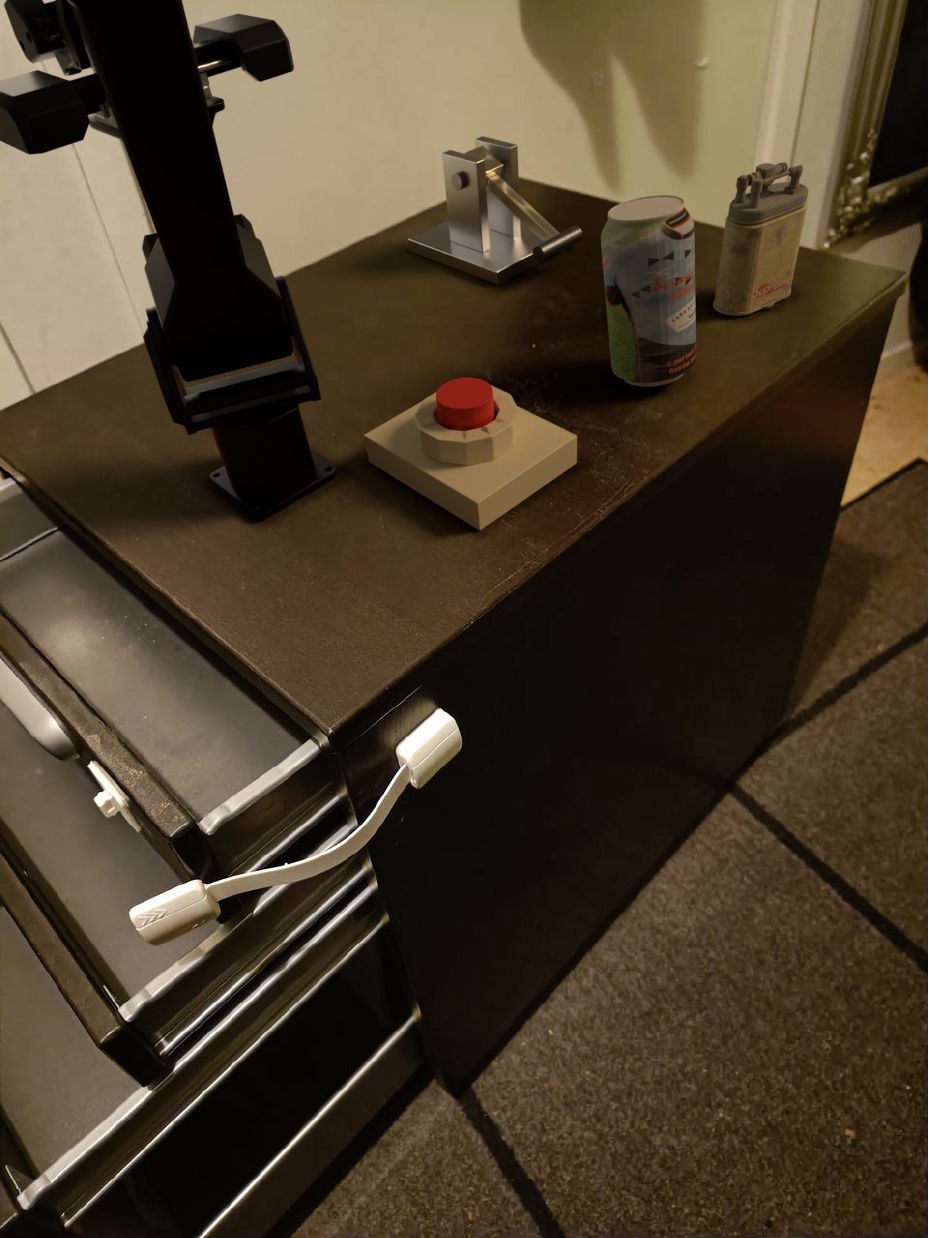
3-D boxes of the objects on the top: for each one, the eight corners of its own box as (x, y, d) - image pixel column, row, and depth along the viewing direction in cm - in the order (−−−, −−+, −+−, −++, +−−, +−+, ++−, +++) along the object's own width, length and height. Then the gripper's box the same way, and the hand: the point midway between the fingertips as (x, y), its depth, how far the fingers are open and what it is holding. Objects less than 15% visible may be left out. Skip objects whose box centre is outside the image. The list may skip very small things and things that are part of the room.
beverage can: (669, 407, 59) (687, 233, 50) (579, 379, 62) (582, 213, 53) (709, 365, 62) (733, 195, 53) (622, 342, 65) (631, 178, 56)
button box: (577, 463, 55) (577, 411, 52) (479, 531, 51) (475, 479, 48) (463, 404, 61) (458, 355, 58) (368, 461, 57) (358, 411, 54)
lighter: (767, 279, 70) (791, 149, 63) (802, 295, 68) (831, 162, 60) (703, 306, 68) (720, 175, 61) (737, 323, 66) (759, 189, 58)
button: (506, 414, 53) (504, 390, 52) (465, 439, 52) (463, 415, 51) (467, 394, 55) (465, 371, 54) (427, 418, 54) (424, 395, 52)
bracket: (565, 249, 77) (566, 145, 71) (497, 285, 74) (491, 179, 67) (476, 219, 84) (469, 121, 77) (409, 251, 80) (396, 151, 74)
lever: (577, 249, 74) (586, 226, 72) (539, 269, 72) (547, 247, 69) (487, 164, 76) (493, 139, 74) (447, 181, 74) (452, 157, 72)
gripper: (173, -99, 55) (240, 157, 66) (-114, -40, 47) (17, 239, 59) (266, -94, 49) (322, 186, 60) (-45, -25, 41) (87, 282, 53)
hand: (190, 220), depth 58 cm, fingers closed
